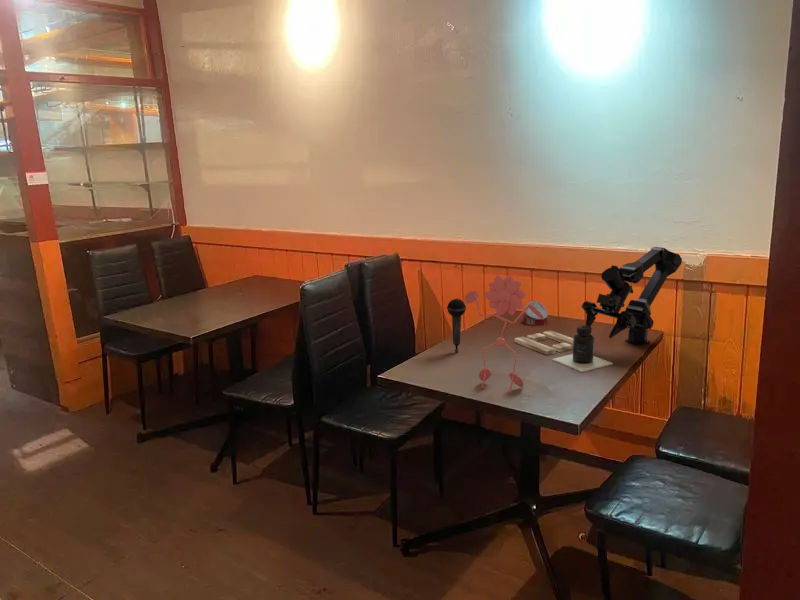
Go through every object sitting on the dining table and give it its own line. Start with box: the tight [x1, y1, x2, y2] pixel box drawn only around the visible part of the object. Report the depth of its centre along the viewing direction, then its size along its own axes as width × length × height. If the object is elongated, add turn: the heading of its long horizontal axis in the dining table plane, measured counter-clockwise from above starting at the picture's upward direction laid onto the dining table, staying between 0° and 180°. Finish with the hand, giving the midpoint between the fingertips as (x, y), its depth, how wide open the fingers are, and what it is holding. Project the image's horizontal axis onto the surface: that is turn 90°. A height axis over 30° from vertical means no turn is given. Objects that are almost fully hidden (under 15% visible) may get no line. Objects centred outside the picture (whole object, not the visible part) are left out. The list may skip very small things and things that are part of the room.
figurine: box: [464, 274, 544, 398], centre depth 192 cm, size 15×26×35 cm, turn 59°
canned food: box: [522, 300, 549, 327], centre depth 261 cm, size 11×10×10 cm
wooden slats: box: [513, 330, 573, 356], centre depth 233 cm, size 18×18×2 cm
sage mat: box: [552, 353, 613, 373], centre depth 213 cm, size 14×14×1 cm
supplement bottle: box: [572, 324, 595, 364], centre depth 212 cm, size 7×7×12 cm
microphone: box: [446, 298, 467, 353], centre depth 224 cm, size 7×7×20 cm
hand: (597, 334), depth 216 cm, fingers open, 9 cm apart
